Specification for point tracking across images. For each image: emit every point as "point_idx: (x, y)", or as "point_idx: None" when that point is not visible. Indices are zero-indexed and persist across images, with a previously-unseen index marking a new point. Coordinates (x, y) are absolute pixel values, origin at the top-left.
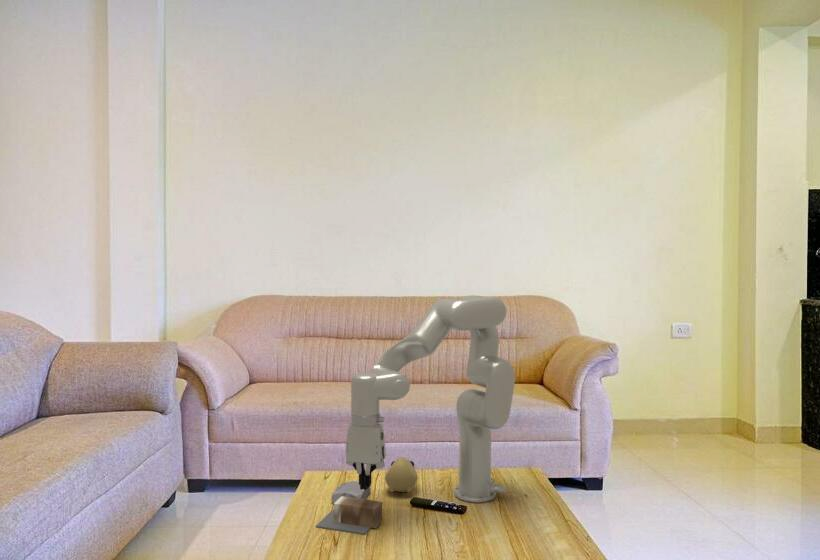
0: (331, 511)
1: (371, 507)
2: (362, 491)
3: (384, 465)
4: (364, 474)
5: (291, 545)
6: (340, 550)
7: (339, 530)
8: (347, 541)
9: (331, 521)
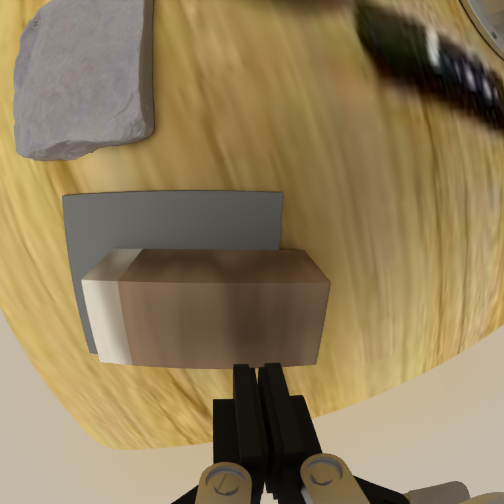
0: (68, 237)
1: (292, 356)
2: (136, 85)
3: (463, 488)
4: (263, 477)
5: (109, 429)
6: None
7: None
8: (230, 397)
9: None
